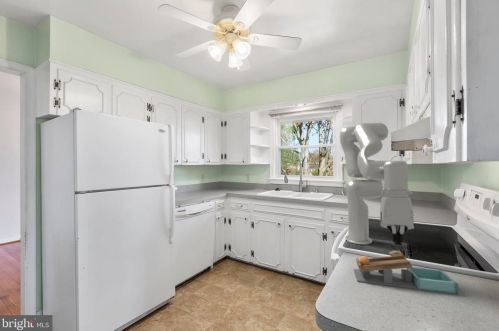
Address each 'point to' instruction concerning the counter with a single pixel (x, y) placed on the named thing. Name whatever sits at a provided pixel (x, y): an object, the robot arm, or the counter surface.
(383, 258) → the seesaw lever
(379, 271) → the lever stand
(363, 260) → the ball
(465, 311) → the counter surface
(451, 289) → the dish
